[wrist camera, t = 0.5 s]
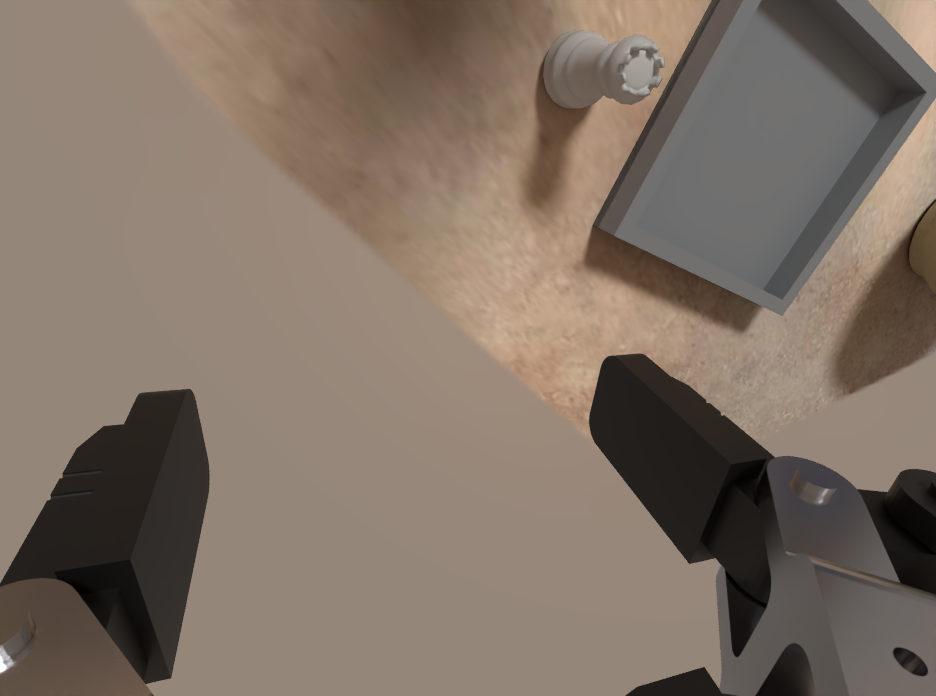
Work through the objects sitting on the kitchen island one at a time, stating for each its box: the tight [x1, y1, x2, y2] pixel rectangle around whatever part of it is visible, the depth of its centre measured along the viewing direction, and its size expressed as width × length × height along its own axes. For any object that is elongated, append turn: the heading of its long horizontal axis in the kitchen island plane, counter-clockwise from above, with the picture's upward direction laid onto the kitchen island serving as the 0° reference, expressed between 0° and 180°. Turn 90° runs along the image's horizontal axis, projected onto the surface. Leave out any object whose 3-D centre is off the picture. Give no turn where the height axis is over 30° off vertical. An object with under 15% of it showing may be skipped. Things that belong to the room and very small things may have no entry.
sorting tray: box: [593, 0, 936, 316], centre depth 38 cm, size 20×20×3 cm
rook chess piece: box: [543, 30, 665, 109], centre depth 29 cm, size 4×4×8 cm
